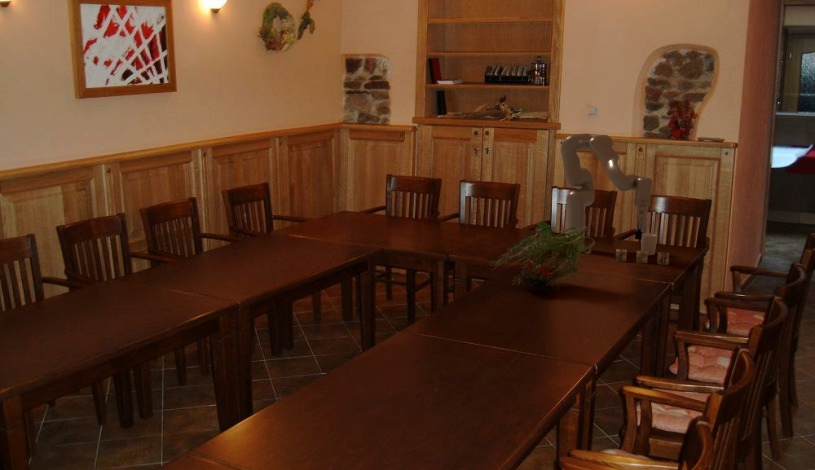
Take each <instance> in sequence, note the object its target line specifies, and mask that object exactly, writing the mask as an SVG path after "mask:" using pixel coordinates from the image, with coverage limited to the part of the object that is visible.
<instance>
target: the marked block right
mask: <svg viewBox="0 0 815 470" xmlns="http://www.w3.org/2000/svg"><path fill="white" fill-rule="evenodd" d="M669 260H670V253H669V252H660V251H659V252H658V251H657V260H656V261H657V265H664V266H668V265H669V262H670V261H669Z"/></svg>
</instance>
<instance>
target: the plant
mask: <svg viewBox="0 0 815 470" xmlns="http://www.w3.org/2000/svg"><path fill="white" fill-rule="evenodd" d="M537 223H538V224H536V226H537V227H535V228H534V229H535V230H538V231H536V232H535V233H536V234H535V235H522V237H524V239H523V240H520V241H519V242H518V243H517V242H516V243H514V244H513V247H510V248H507V252H506V253H503V254H501V255H500V256H497V260H496V259H495V260H494V261H491V262H490V261H488V263H489V265H490V266H495V268H493V269H492V271H493V270H495V269H496V268H498V266H502V265H503V264H504V263H505V264H508V263H509V262H510V261H511V260H512V259H513V258H517V259H516V260H515V261H514V262H513V263H512V264H511V263H510V264H509V265H510V267H511V266H514V265H515V264H517V263H519V262H521V261H522V260H525V259H526V260H525V261H523V263H522V264H524V266H523V267H522V270H521V273H520V274H519V275H518V276H514V277H513V279H512V280H511V282H515V283H516V282H517V281H518V283H517V285H520V283H522V282H523V284H524V285H525V286H526V287H529V288H532V287H535V288H537V289H538V288H539V289H540V290H543V291H545V292H548V291H550V290H551V287H552V289H554V286H555V287H557V288H558V290H560V286H558V284H559V285H560V284H561V282H562V283H563V282H564V283H567V284H568V282H571V281H572V280H574V281H577V280H578V278H579V277H581V274H584V275H582V277H581V278H580V280H582V279H584V277H585V276H586V274H585V273H587V272H590V271H594V270H596V269H598V267H597V268H594V269H590V270H587V271H583V272H581V273H579V270H581V269H583V268H584V267H585V264H587V263H589V262H590V261H589V260H587V259H589V258H590V256H588V257H585V258H583V256H584V255H585V254H591V253H592V249H591V248H593V246H595V244H596V242H595V240H594V239H593V237H591V236H587V235H586V236H585V237H582V238H581V236H582V235H583V233H584V232H585V233H586V231H587V230H588V229H589V226H585V227H584V228H585V229H584V230H582V231H580V233H579V234H578V232H577V229H576V228H573V227H571V228H569V229H567V230H566V229H565V230H564V231H562V230H558V229H556V231H557V232H559V234H557V235H555V233H553V230H552V228H551V227H550V225H549V224H548V223H547V222H545V221H539V220H537ZM570 229H574V231H575V234H576V236H575V234H574V233H573V232H572V231H568V230H570ZM581 229H582V228H581ZM578 230H579V229H578ZM567 231H568V232H570V233H572V235H571V234H569V233H568V234H566V232H567ZM563 234H564V235H563ZM537 235H539V237H537ZM566 235H568V236H567V238H566ZM581 239H582V240H581ZM586 239H591V240H592V242H591V243H590V245H587V246H585V240H586ZM580 242H581V245H580ZM578 243H579V244H578ZM560 245H562V246H560ZM578 245H579V246H578ZM583 246H584V247H585V248H583ZM517 250H518V251H517ZM578 250H579V251H578ZM584 250H586V251H584ZM587 250H588V251H587ZM581 251H583V252H584V253H583V252H581ZM581 253H583V254H582V255H581ZM500 257H501V258H500ZM581 257H582V258H581ZM586 260H587V261H586ZM495 262H496V264H495ZM526 262H527V263H526ZM583 262H584V263H583ZM492 264H494V265H492ZM525 264H526V265H525ZM566 276H568V277H566ZM592 277H596V275H595V276H592ZM515 278H516V279H515ZM561 278H562V279H561ZM588 278H590V276H588V277H586V279H588ZM570 279H571V280H570ZM567 281H568V282H567ZM568 285H569V284H568ZM511 286H514V283H512V284H511ZM550 286H551V287H550Z"/></svg>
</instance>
